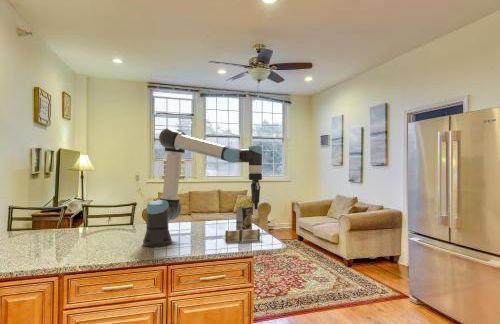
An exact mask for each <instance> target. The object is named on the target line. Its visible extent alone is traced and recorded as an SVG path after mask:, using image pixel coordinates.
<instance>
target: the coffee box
mask: <svg viewBox="0 0 500 324" xmlns="http://www.w3.org/2000/svg"><path fill="white" fill-rule="evenodd" d="M235 220H236V221H235V226H236V227H235V229H236V230H240V229H241V230H253V206H238V207H236V218H235Z"/></svg>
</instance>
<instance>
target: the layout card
mask: <svg viewBox="0 0 500 324" xmlns="http://www.w3.org/2000/svg"><path fill="white" fill-rule="evenodd" d="M221 237H222V239H223V240H224V242H225V244H230V243H233V244H234V243H246V242H247V243H248V242H249V243H250V242H252V243H253V242H261V240H260V239H259V240H258V239H252V240H242V241H239V240H236V241H227V242H226V241H225V235H221Z"/></svg>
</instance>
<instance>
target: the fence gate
mask: <svg viewBox="0 0 500 324" xmlns="http://www.w3.org/2000/svg"><path fill="white" fill-rule="evenodd" d="M260 237H261V229H260V228H257V229H252V230H242V240H252V239H258V240H260Z"/></svg>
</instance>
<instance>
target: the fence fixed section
mask: <svg viewBox="0 0 500 324" xmlns="http://www.w3.org/2000/svg"><path fill="white" fill-rule="evenodd" d="M224 232H225V235H224V236H225V241H226V242H227V241H236V240H239V241H242V230H241V229H240V230H225V231H224ZM225 241H224V242H225ZM226 242H225V243H226Z"/></svg>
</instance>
